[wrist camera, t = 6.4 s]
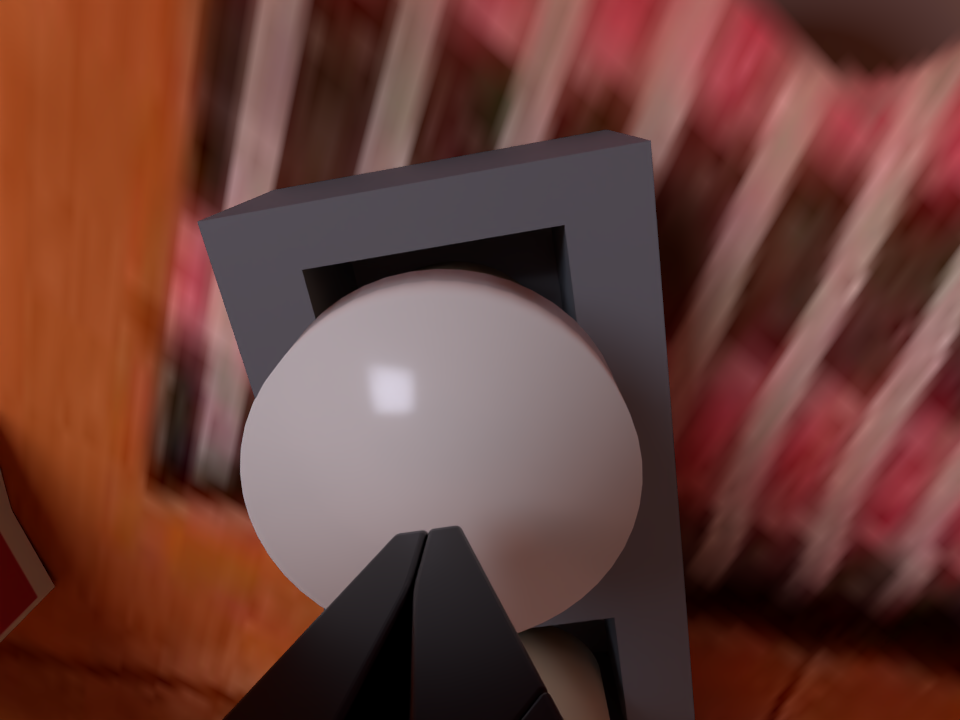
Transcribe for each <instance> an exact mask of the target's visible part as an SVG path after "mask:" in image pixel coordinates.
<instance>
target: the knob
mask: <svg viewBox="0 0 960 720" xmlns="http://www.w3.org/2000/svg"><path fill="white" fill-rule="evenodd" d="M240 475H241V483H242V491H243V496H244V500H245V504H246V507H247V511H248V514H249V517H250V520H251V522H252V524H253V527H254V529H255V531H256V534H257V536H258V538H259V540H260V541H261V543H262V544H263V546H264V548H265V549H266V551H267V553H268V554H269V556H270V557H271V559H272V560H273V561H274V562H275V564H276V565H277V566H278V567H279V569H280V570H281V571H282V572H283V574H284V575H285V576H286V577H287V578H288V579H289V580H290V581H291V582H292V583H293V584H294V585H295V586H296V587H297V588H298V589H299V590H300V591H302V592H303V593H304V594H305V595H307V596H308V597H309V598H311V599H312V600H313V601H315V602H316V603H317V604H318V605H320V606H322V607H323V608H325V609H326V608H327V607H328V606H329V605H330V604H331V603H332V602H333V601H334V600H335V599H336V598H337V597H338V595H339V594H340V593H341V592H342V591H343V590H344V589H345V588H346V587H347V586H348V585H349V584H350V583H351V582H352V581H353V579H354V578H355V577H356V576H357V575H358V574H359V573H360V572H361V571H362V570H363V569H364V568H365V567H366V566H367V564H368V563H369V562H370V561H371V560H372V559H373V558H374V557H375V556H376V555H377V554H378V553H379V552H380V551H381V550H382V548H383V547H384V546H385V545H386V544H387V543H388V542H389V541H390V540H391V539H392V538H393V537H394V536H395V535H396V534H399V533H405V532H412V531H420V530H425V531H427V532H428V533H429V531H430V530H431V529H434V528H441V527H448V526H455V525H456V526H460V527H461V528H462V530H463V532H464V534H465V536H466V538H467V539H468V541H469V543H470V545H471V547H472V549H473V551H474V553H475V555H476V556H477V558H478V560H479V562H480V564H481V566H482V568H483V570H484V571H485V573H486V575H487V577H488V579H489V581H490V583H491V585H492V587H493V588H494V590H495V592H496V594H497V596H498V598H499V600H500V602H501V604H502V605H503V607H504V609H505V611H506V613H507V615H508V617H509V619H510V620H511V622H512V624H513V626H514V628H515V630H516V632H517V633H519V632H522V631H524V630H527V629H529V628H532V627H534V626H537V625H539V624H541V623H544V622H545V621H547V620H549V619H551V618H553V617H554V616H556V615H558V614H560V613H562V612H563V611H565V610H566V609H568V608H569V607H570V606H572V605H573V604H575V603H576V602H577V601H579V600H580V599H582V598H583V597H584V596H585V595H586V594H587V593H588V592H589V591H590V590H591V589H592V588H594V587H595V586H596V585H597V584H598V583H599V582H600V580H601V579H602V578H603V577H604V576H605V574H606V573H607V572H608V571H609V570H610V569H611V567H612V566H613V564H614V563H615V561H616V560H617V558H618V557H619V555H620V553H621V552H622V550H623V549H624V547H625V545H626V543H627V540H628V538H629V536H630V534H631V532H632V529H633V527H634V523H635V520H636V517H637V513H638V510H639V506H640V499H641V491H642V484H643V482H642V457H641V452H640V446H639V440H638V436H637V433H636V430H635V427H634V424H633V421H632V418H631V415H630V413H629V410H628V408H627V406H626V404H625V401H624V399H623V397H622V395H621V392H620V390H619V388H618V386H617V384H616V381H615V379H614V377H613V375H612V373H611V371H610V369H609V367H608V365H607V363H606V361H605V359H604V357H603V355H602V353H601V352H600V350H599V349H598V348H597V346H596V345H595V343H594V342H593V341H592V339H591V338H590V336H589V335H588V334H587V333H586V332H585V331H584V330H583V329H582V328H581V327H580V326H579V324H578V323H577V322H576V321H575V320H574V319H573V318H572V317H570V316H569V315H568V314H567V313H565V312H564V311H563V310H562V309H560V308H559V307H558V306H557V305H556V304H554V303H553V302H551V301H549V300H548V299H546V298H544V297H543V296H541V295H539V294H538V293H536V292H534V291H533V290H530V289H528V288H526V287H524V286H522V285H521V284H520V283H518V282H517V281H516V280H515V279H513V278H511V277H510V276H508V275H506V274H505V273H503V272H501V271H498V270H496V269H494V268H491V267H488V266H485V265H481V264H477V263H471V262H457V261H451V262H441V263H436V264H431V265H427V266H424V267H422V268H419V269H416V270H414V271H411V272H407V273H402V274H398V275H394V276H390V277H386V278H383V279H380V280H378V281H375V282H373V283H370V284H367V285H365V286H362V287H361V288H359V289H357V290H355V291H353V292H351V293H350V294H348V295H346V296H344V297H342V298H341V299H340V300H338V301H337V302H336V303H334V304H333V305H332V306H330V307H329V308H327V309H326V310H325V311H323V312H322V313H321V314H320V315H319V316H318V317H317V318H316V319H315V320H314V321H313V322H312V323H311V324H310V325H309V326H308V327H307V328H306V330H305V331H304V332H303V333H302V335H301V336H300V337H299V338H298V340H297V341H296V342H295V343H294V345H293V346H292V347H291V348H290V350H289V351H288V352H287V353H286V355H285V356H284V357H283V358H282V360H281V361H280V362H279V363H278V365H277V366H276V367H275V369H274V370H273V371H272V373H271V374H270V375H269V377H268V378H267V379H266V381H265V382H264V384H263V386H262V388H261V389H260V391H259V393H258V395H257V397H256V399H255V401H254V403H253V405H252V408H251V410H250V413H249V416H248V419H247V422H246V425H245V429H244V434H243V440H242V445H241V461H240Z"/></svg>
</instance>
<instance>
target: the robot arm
mask: <svg viewBox="0 0 960 720" xmlns="http://www.w3.org/2000/svg"><path fill="white" fill-rule="evenodd" d="M222 720H564V719H563V717H562V716H561V714H560V712H559V710H558V708H557V706H556V704H555V703H554V701H553V699H552V697H551V695H550V694H549V693H548V691H547V688H546V686H545V685H544V683H543V681H542V679H541V677H540V675H539V673H538V671H537V669H536V668H535V666H534V664H533V662H532V660H531V658H530V656H529V654H528V652H527V651H526V649H525V647H524V645H523V643H522V641H521V639H520V637H519V636H518V634H517V632H516V630H515V628H514V626H513V624H512V622H511V620H510V619H509V617H508V615H507V613H506V611H505V609H504V607H503V605H502V604H501V602H500V600H499V598H498V596H497V594H496V592H495V590H494V588H493V587H492V585H491V583H490V581H489V579H488V577H487V575H486V573H485V571H484V570H483V568H482V566H481V564H480V562H479V560H478V558H477V556H476V555H475V553H474V551H473V549H472V547H471V545H470V543H469V541H468V539H467V538H466V536H465V534H464V532H463V530H462V528H461V527H460V526H456V525H455V526H448V527H441V528H434V529H431V530H430V531H429V533H428V532H427V531H425V530H420V531H412V532H405V533H399V534H396V535H395V536H394V537H393V538H392V539H391V540H390V541H389V542H388V543H387V544H386V545H385V546H384V547H383V548H382V550H381V551H380V552H379V553H378V554H377V555H376V556H375V557H374V558H373V559H372V560H371V561H370V562H369V563H368V564H367V566H366V567H365V568H364V569H363V570H362V571H361V572H360V573H359V574H358V575H357V576H356V577H355V578H354V579H353V581H352V582H351V583H350V584H349V585H348V586H347V587H346V588H345V589H344V590H343V591H342V592H341V593H340V594H339V595H338V597H337V598H336V599H335V600H334V601H333V602H332V603H331V604H330V605H329V606H328V607H327V608H326V609H325V610H324V612H323V613H322V614H321V615H320V616H319V617H318V618H317V619H316V620H315V621H314V622H313V623H312V624H311V625H310V626H309V628H308V629H307V630H306V631H305V632H304V633H303V634H302V635H301V636H300V637H299V638H298V639H297V640H296V641H295V643H294V644H293V645H292V646H291V647H290V648H289V649H288V650H287V651H286V652H285V653H284V654H283V655H282V656H281V657H280V659H279V660H278V661H277V662H276V663H275V664H274V665H273V666H272V667H271V668H270V669H269V670H268V671H267V672H266V673H265V675H264V676H263V677H262V678H261V679H260V680H259V681H258V682H257V683H256V684H255V685H254V686H253V687H252V688H251V690H250V691H249V692H248V693H247V694H246V695H245V696H244V697H243V698H242V699H241V700H240V701H239V702H238V703H237V704H236V706H235V707H234V708H233V709H232V710H231V711H230V712H229V713H228V714H227V715H226V716H225V717H224V718H223V719H222Z"/></svg>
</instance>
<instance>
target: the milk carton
mask: <svg viewBox="0 0 960 720" xmlns="http://www.w3.org/2000/svg"><path fill="white" fill-rule="evenodd" d="M54 587H55V586H54V584H53V582H52V581H51V579H50V577H49V575H48V574H47V572H46V570H45V568H44V566H43V565H42V563H41V561H40V559H39V558H38V556H37V554H36V552H35V551H34V549H33V547H32V545H31V544H30V542H29V540H28V538H27V536H26V535H25V533H24V531H23V529H22V528H21V526H20V524H19V522H18V521H17V519H16V517H15V515H14V513H13V512H12V510H11V506H10V503H9V499H8V495H7V492H6V488H5V485H4V481H3V477H2V474H1V470H0V642H1V641H2V640H3V639H4V638H5V637H6V636H7V635H8V634H9V633H10V632H11V631H12V630H13V629H14V628H15V627H16V626H17V625H18V624H19V623H20V622H21V621H22V620H23V619H24V618H25V617H26V616H27V615H28V614H29V613H30V612H31V611H32V610H33V609H34V608H35V607H36V606H37V605H38V603H39V602H40V601H41V600H42V599H43V598H44V597H45V596H46V595H47V594H48V593H49V592H50V591H51V590H52V589H53V588H54Z"/></svg>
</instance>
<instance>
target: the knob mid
mask: <svg viewBox="0 0 960 720" xmlns="http://www.w3.org/2000/svg"><path fill="white" fill-rule="evenodd" d="M517 634H518V636H519V637H520V639H521V641H522V643H523V645H524V647H525V649H526V651H527V652H528V654H529V656H530V658H531V660H532V662H533V664H534V666H535V668H536V669H537V671H538V673H539V675H540V677H541V679H542V681H543V683H544V685H545V686H546V688H547V691H548V693H549V694H550V695H551V697H552V699H553V701H554V703H555V704H556V706H557V708H558V710H559V712H560V714H561V716H562V717H563V719H564V720H610V718H609V713H608V707H607V702H606V697H605V692H604V687H603V682H602V676H601V672H600V667H599V665H598V662H597V660H596V658H595V656H594V655H593V653H592V652H591V651H590V649H589V648H588V647H587V646H586V645H585V644H584V643H583V642H582V641H580V640H579V639H578V638H576V637H575V636H573V635H572V634H570V633H568V632H566V631H564V630H562V629H559V628H556V627H554V626H543V627H535V628H529V629H527V630H524V631H522V632H519V633H517Z"/></svg>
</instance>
